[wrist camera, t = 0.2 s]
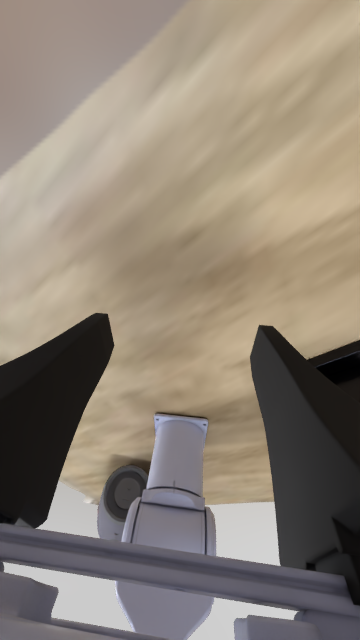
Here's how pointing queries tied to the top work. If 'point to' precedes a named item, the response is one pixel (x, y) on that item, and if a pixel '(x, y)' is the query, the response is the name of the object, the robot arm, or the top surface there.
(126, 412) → the top surface
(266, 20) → the top surface
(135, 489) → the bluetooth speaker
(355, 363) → the tap bracket
